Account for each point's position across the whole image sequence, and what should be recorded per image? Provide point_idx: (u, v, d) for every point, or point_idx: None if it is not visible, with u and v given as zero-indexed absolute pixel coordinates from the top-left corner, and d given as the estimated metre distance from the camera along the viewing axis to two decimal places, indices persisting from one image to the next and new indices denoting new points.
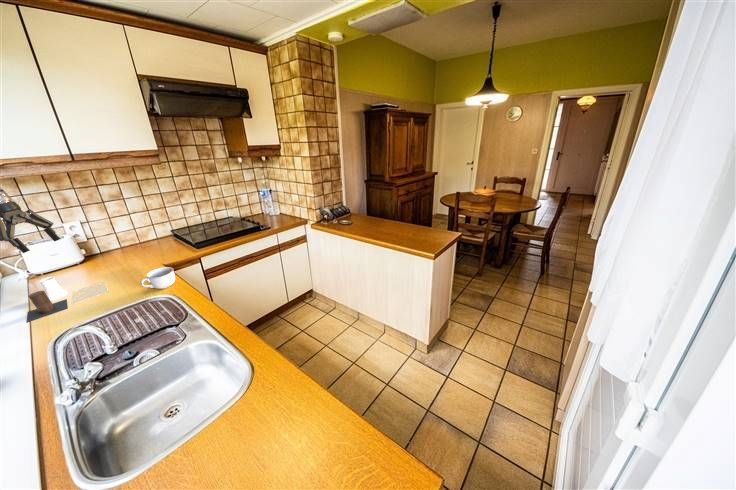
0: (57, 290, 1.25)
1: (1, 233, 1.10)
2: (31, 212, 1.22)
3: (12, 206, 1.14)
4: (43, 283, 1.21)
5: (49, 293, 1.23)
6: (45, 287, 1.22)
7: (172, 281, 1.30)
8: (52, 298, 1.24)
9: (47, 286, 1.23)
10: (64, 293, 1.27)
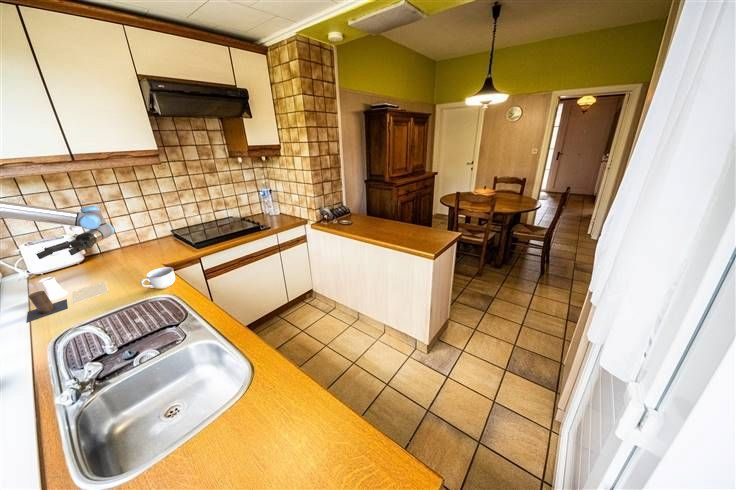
0: (57, 290, 1.25)
1: (92, 245, 1.39)
2: None
3: None
4: (43, 283, 1.21)
5: (49, 293, 1.23)
6: (45, 287, 1.22)
7: (172, 281, 1.30)
8: (52, 298, 1.24)
9: (47, 286, 1.23)
10: (64, 293, 1.27)
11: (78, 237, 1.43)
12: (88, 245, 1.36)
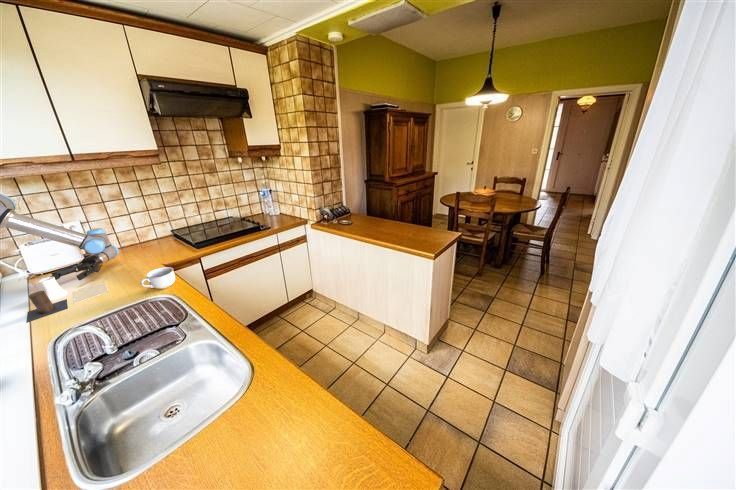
0: (57, 290, 1.25)
1: (99, 269, 1.41)
2: None
3: None
4: (43, 283, 1.21)
5: (49, 293, 1.23)
6: (45, 287, 1.22)
7: (172, 281, 1.30)
8: (52, 298, 1.24)
9: (47, 286, 1.23)
10: (64, 293, 1.27)
11: (84, 260, 1.45)
12: (95, 269, 1.38)
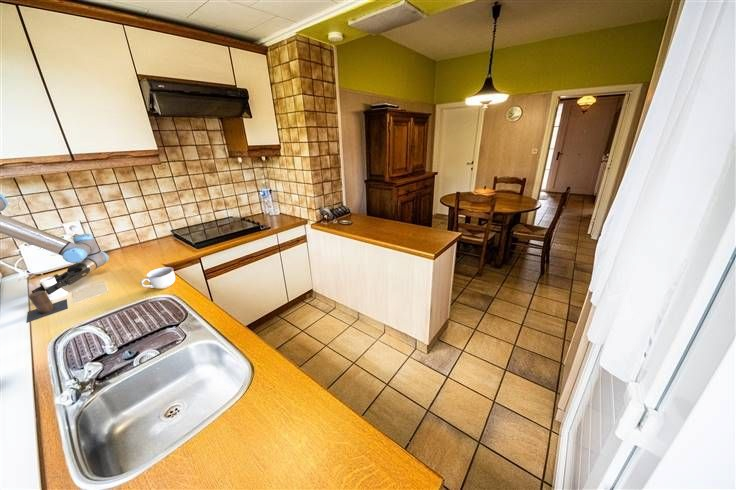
0: (57, 290, 1.25)
1: (74, 281, 1.30)
2: None
3: None
4: (43, 283, 1.21)
5: None
6: (45, 287, 1.22)
7: (172, 281, 1.30)
8: (52, 298, 1.24)
9: (47, 286, 1.23)
10: (64, 293, 1.27)
11: (70, 268, 1.36)
12: (67, 282, 1.27)
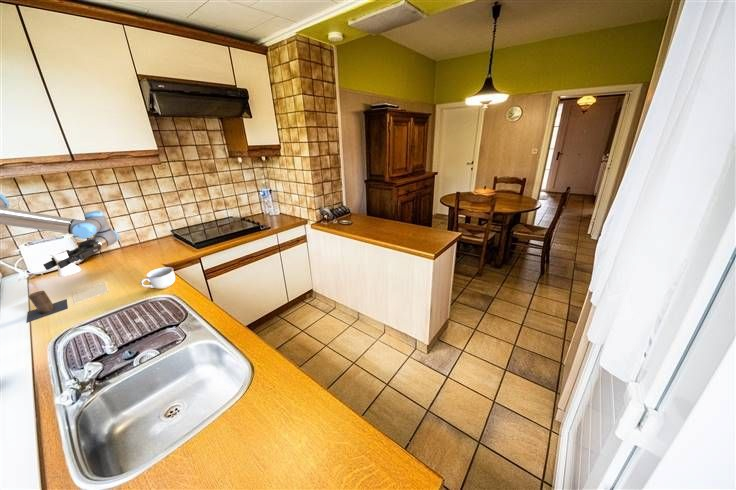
0: (69, 265, 1.22)
1: (86, 256, 1.27)
2: None
3: (93, 254, 1.37)
4: (55, 257, 1.18)
5: None
6: (57, 261, 1.19)
7: (172, 281, 1.30)
8: (64, 272, 1.20)
9: (59, 260, 1.19)
10: (76, 268, 1.24)
11: (82, 245, 1.33)
12: (79, 257, 1.24)
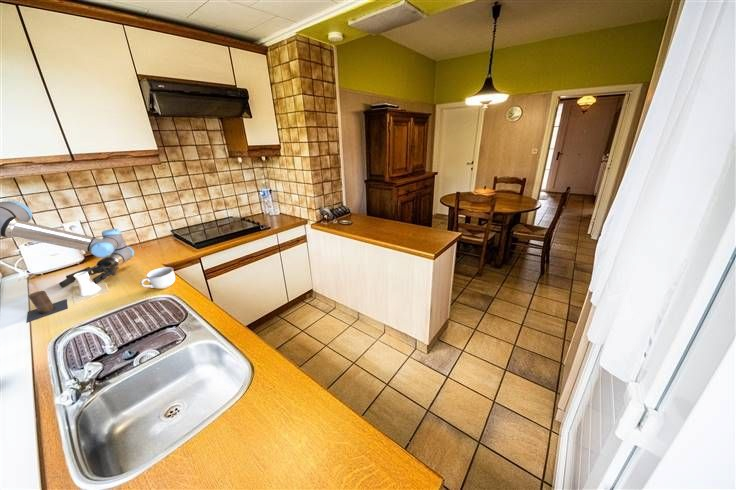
0: (90, 285, 1.27)
1: (115, 272, 1.34)
2: None
3: None
4: (77, 277, 1.23)
5: (83, 287, 1.25)
6: (79, 281, 1.24)
7: (172, 281, 1.30)
8: (86, 292, 1.25)
9: (81, 280, 1.24)
10: (97, 288, 1.29)
11: (100, 262, 1.38)
12: (112, 272, 1.31)
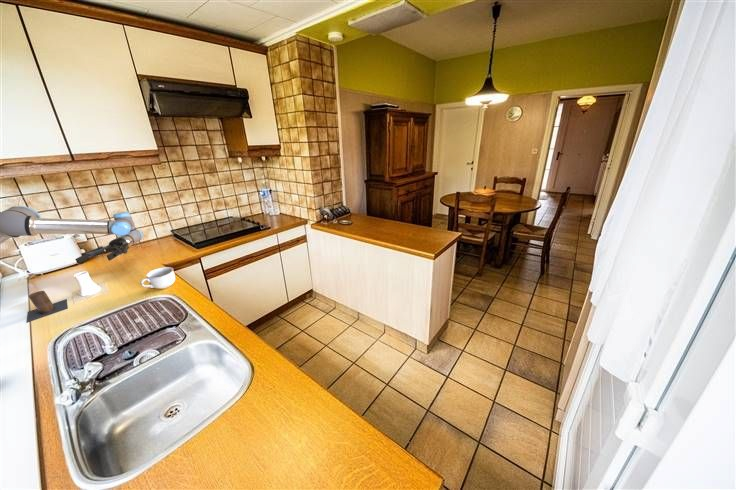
0: (90, 285, 1.27)
1: (126, 251, 1.43)
2: None
3: None
4: (77, 277, 1.23)
5: (83, 287, 1.25)
6: (79, 281, 1.24)
7: (172, 281, 1.30)
8: (86, 292, 1.25)
9: (81, 280, 1.24)
10: (97, 288, 1.29)
11: (112, 242, 1.47)
12: (123, 250, 1.40)
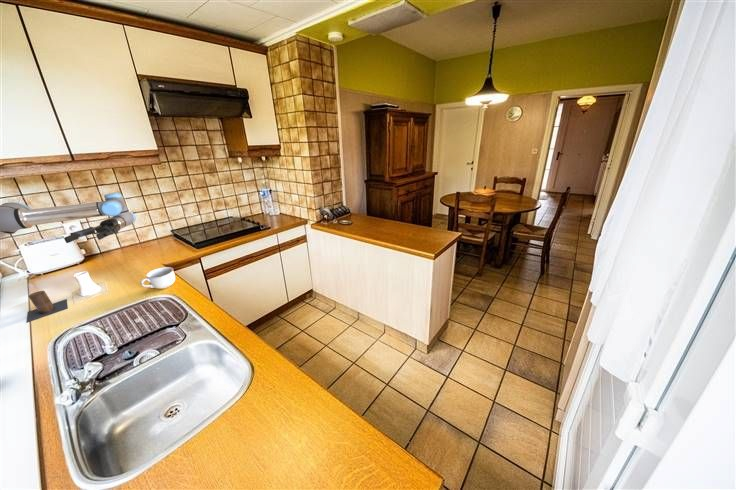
0: (90, 285, 1.27)
1: (117, 231, 1.38)
2: None
3: None
4: (77, 277, 1.23)
5: (83, 287, 1.25)
6: (79, 281, 1.24)
7: (172, 281, 1.30)
8: (86, 292, 1.25)
9: (81, 280, 1.24)
10: (97, 288, 1.29)
11: (103, 223, 1.42)
12: (114, 230, 1.36)
